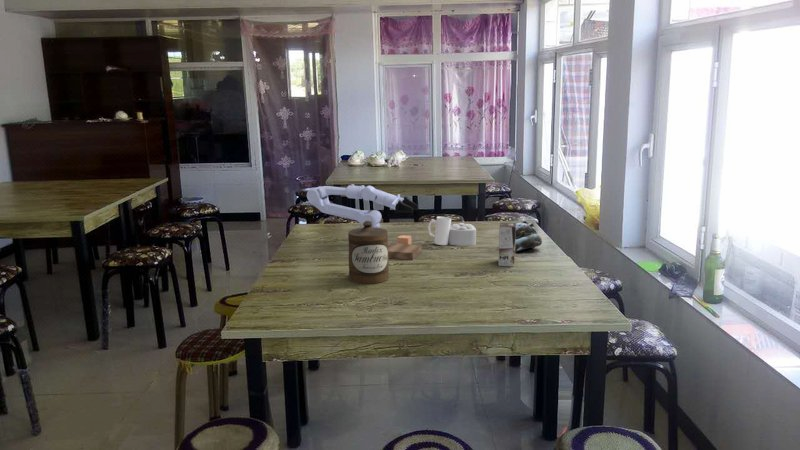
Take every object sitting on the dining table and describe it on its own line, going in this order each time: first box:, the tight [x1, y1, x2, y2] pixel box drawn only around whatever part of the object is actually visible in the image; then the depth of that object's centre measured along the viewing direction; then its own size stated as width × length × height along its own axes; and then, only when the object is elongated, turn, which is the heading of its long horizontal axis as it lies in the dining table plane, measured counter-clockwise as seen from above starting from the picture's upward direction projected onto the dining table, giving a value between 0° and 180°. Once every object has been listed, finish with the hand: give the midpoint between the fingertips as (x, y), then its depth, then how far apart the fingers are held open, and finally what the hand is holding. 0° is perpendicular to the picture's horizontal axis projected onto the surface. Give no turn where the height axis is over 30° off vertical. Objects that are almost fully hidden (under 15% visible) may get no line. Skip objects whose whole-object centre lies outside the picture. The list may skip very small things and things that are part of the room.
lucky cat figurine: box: [515, 220, 543, 253], centre depth 282 cm, size 15×12×14 cm
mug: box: [427, 216, 452, 246], centre depth 292 cm, size 10×7×12 cm, turn 83°
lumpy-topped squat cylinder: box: [448, 222, 477, 247], centre depth 294 cm, size 10×13×9 cm
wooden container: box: [347, 221, 390, 285], centre depth 239 cm, size 15×15×22 cm
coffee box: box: [498, 222, 517, 267], centre depth 259 cm, size 9×6×16 cm
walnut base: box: [388, 242, 423, 261], centre depth 275 cm, size 14×14×3 cm
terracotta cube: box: [396, 234, 413, 245], centre depth 287 cm, size 5×5×5 cm
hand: (415, 209), depth 282 cm, fingers open, 7 cm apart
